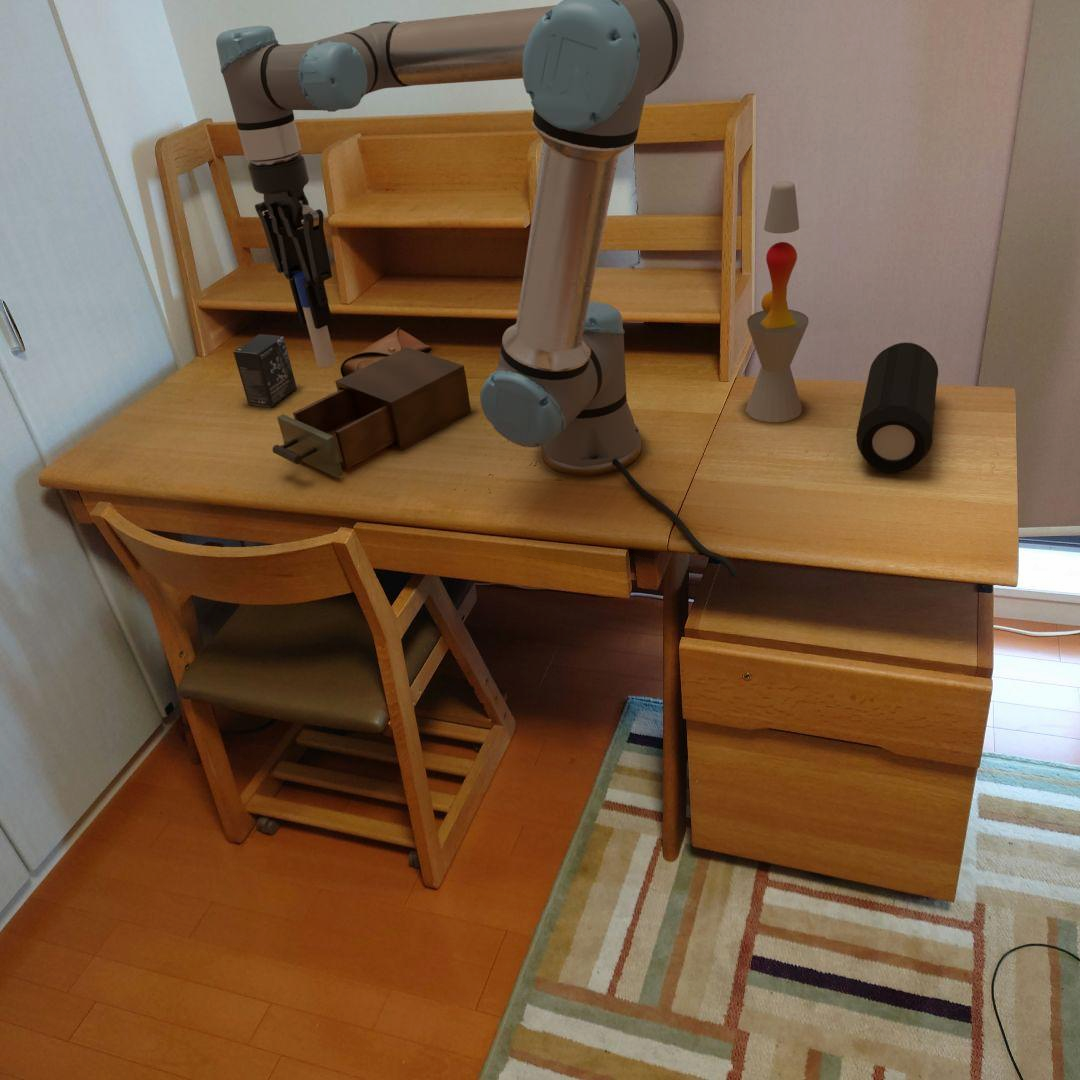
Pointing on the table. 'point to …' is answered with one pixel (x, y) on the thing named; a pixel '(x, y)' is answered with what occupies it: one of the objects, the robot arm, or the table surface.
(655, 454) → the table surface
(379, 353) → the sunglasses case
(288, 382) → the box
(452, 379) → the cabinet
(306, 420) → the drawer
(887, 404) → the portable speaker
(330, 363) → the marker
